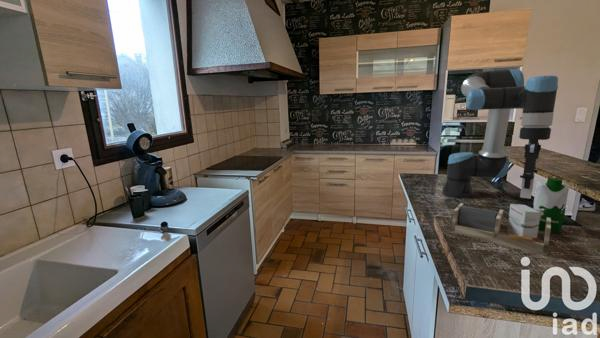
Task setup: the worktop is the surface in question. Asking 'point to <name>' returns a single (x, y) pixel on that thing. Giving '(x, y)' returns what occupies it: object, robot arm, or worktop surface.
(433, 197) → the worktop surface
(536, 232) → the ink box
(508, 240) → the rack
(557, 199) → the milk carton
